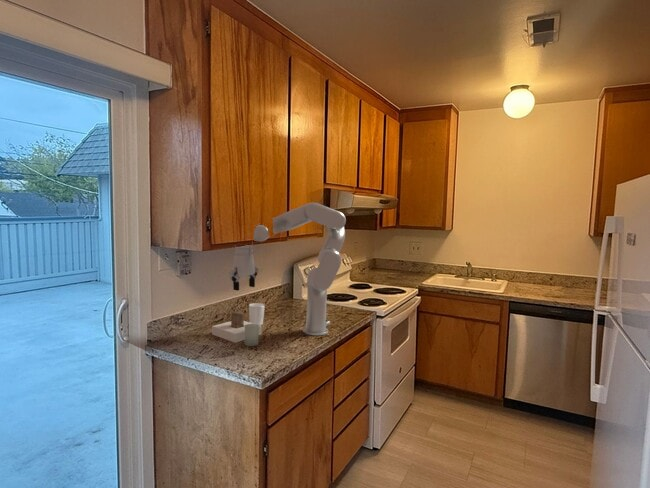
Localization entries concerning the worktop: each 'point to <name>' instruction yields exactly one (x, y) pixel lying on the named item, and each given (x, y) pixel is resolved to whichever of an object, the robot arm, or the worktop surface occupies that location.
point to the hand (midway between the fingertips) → (244, 288)
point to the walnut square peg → (237, 319)
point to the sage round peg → (251, 334)
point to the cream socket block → (231, 331)
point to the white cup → (256, 313)
